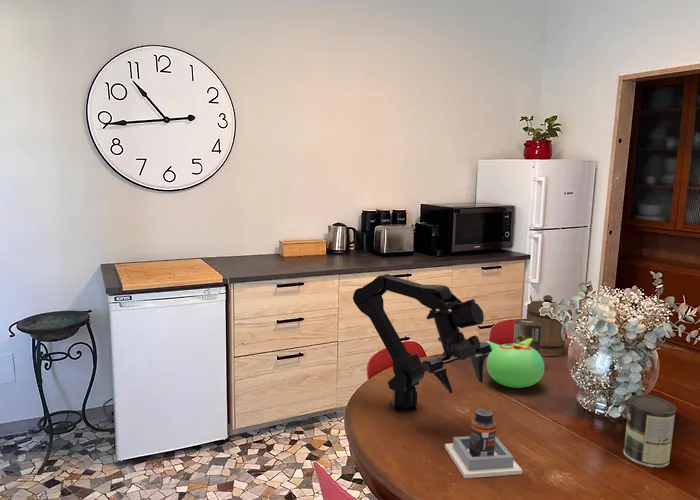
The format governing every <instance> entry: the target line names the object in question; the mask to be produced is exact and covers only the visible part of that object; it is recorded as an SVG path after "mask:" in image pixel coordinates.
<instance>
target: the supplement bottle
mask: <svg viewBox="0 0 700 500" xmlns="http://www.w3.org/2000/svg"><path fill="white" fill-rule="evenodd" d="M474 416H475V417H473V418H472V419H471V421H470V431H469V432H470V433H469V436H470V444H469V453H470V455H471V456H472V457H482V456H494V448H495V436H497V435H496V434H497V433H496V432H497V423H496V421H495V420H494V418H493V416H494V415H493V411H491V410H490V409H487V408H479V409H476V410H475V414H474Z"/></svg>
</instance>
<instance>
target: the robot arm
mask: <svg viewBox="0 0 700 500" xmlns="http://www.w3.org/2000/svg"><path fill="white" fill-rule="evenodd" d="M386 292H391V293H394V294H399V295H401V296H405V297H408V298H411V299H413V300H414V299H415V300H416V301H418V302H419V304H421V305H422V306H425V307H426V308H428V309H430V310H429V313H428V314H427V316H426V320H431V319H432V320H434V321H433V322H434V324H435V327H436V330H437V333H438V338H437V339H438V342H440V343H441V347H442V355H443V357H441V356H436V357H435V356H434V357H431V358H427V359H424V360H423V361H421V359H420V357H419V355H418V354H417V353H414V354H411V353H410V352H408V350H407V349H406V347H405V345H404V343H403V342H402V339H401V338H400V336H399V334H398V333H397V331H396V329H395V327H394V325H393V324H392V322H391V320H390V318H389V316H388V315H387V313H386V311H385V309H384V306H385V305H384V297H383V295H385V294H386ZM352 300H353V303H354V304H355V306H356V307H357V308H358V310H359V311H360V313H362V314H364V315H365V316H367V317H368V318H369V320H370V321H371V323H372V325H373V326H374V328H375V330H376V333H377V334H378V336H379V338H380V339H381V341H382V343H383V345H384V347H385V348H386V350H387V352H388V354H389V356H390V357H391V361H392V370H393V374H394V376H393V377H392V378H391V379H390V380H388V381H387V384H388V387H389V390H392V397H391V399H392V400H390V404H391V406H392V408H393V410H394V412H412V411H417V410H418V408H417V405H418V392H417V388H416V386H418V385H419V384H420V382H421V381H422V380H423V379H424V377H425V373H429V374H433V375H434V376H435V377H436V378H437V379H438V380H439V382H440V383H441V384H442V386H443V387H444V388H445V389H446V390H447V392H448V393H449V394H453V389H452V386H451V383H450V381H449V380H450V379H449V378H448V375H447V368H444V365H446V364H447V365H448V364H449V363H452V362H455V361H458V360H459V361H460V360H461V361H464V360H466V359H468V358H470V361H471V363H472V366H473V369H474V373H475V376H476V377H477V380H478V382H479V383H480V384H481V383H483V374H484V373H483V372H484V364H485V363H484V362H485V360H486V359H487V358H488V355H489V354H490V352H492V349H491V346H490V344H489V343H488V342H486V341H480V339H479V336H477V335H471V336H469V338H465V335H464V333H463V332H462V331H460V329H466V328H470V327H474V326H478V325H482V324H483V323H484V320H485V319H484V318H485V315H484V311H483V308H481V306H480V305H479V304H478V303H477V302H476V300H475V299H474V298H472V299H469V300H466V301H464V302H463V301H462V300H461V299H459V298H458V297H457V296H456V295H455V294H454V293H452V291H451V289H450V287H448V286H447V285H444V284H441V285H440V284H421V283H418V282H416V281H415V282H414V281H411V280H408V279H403V278H400V277H397V276H393V275H391V274H388V273H386V274H381V275H378V276H377V277H375V279H373V280H372V281H370V282H369V283H367V284H365V285H364V286H362V287H358V288H357V289H355V290H354V292H353V295H352Z"/></svg>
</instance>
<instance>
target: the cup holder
mask: <svg viewBox="0 0 700 500" xmlns="http://www.w3.org/2000/svg"><path fill="white" fill-rule="evenodd" d="M469 444H470V435H468V436H453V438H452V443H445V444H444V448H445V450H446V452H447V453H448V455H449V456H450V458H451V460H452V461H453V463H454V464H455V466H456V468H457V470H459V472H460V474H461V475H462V477H463V479H473V478H486V477H487V478H488V477H489V478H490V477H502V476H515V475H522V474H523V469H522V468H521V467H520V466H519V464H518V463H517V461H515V460H514V459H515V458H514V457H515V456H514V455H513V454H511V452H510V450H508V448H507V447H506V446H505V445H504V444H503V443H502V442H501V440H500V439H499V438H498V437H497V435H495V448H494V456H482V457H472V456H471V455H470V453H469Z"/></svg>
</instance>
